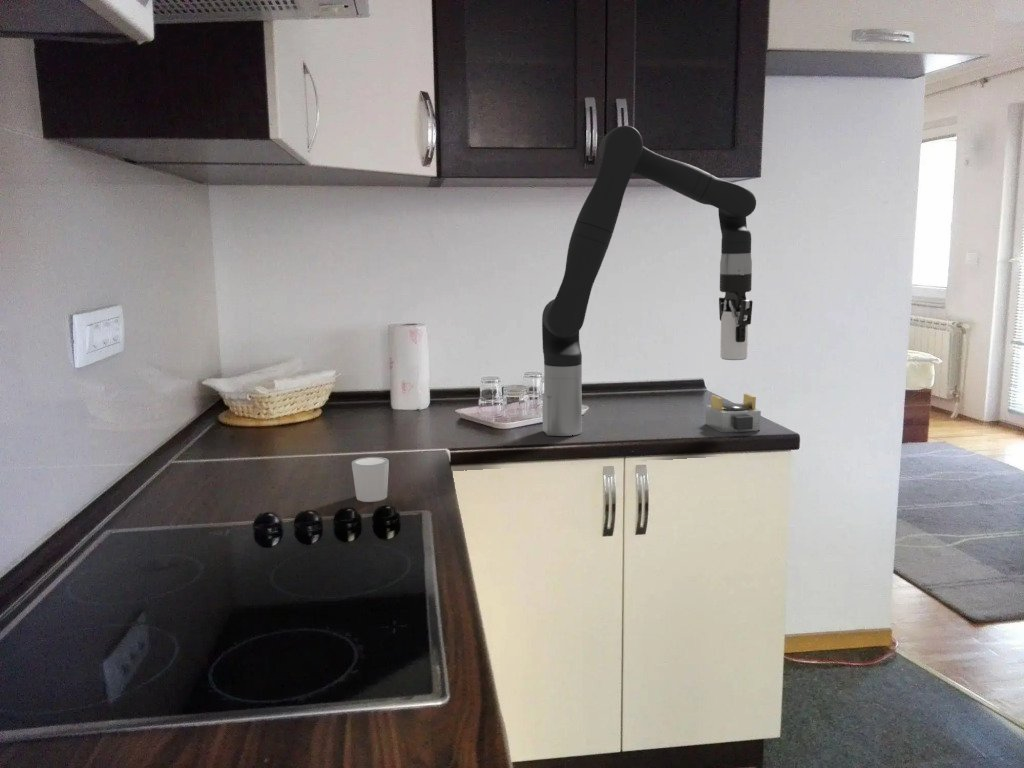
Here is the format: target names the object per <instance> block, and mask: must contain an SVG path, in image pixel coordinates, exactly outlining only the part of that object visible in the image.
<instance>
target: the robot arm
mask: <svg viewBox="0 0 1024 768" xmlns="http://www.w3.org/2000/svg"><path fill="white" fill-rule="evenodd" d="M598 147H599V149H598V151H599V152H598V153H599V156H600V159H601V162H600V166H599V170H598V173H597V176H596V179H595V181H594V184H593V186H592V187H591V190H590V192H589V193H588V195H587V197H586V199H585V201H584V203H583V204H582V207H581V209H580V211H579V214H578V216H577V218H576V221H575V224H574V226H573V230H572V233H571V236H570V238H569V239H570V240H569V243H568V247H567V253H566V262H565V269H564V270H565V271H564V274H563V278H562V281H561V284H560V286H559V288H558V291H557V293H556V295H555V298H554V299H552V300H550V301H549V302H548V303H546V305H545V306H544V307H543V311H542V315H541V316H542V317H541V327H542V328H541V331H542V333H541V336H542V338H541V340H542V353H543V364H544V365H543V369H544V371H543V373H544V374H543V375H544V376H543V377H544V380H543V382H544V387H543V389H544V392H543V393H542V394H541V395H542V403H541V404H542V406H541V407H542V408H541V409H542V431H543V432H544V434H545V435H546V436H553V437H554V436H555V437H570V436H572V435H573V436H578V435H580V434H582V431H583V428H582V425H583V423H582V416H583V415H582V412H583V410H582V406H583V405H582V401H583V399H582V393H583V392H582V388H583V387H582V386H583V384H582V383H583V380H582V379H583V378H582V376H583V375H582V373H583V372H582V370H583V369H582V367H583V365H582V364H583V363H582V362H583V361H582V358H583V357H582V351H581V350H582V349H581V346H580V345H581V344H580V331H581V329H582V327H583V325H584V322H585V319H586V315H587V314H586V313H587V309H588V305H589V301H590V298H591V297H590V296H591V292H592V289H593V286H594V283H595V280H596V278H597V276H598V273H599V271H600V268H601V266H602V264H603V261H604V260H605V259H604V258H605V257H606V253H607V251H608V248H609V245H610V243H611V239H612V237H613V233H614V231H615V228H616V225H617V224H616V223H617V221H618V217H619V214H620V210H621V207H622V202H623V200H624V195H625V192H626V189H627V187H628V184H629V182H630V179H631V177H632V176H633V174H634V175H637V176H640V177H643V178H645V179H648V180H650V181H652V182H655V183H658V184H659V185H661V186H664V187H665V188H668V189H670V190H672V191H674V192H676V193H678V194H680V195H682V196H684V197H687V198H689V199H691V200H693V201H695V202H697V203H699V204H703V205H708V206H712V207H714V208H717V209H718V220H719V227H720V231H721V247H720V248H721V252H720V253H721V254H720V261H719V291H720V292H721V293H724V296H720V297H718V311H719V312H718V313H719V320H720V322H721V316H722V314H723V310H725V311H727V310H728V311H732V316H733V318H735V322H736V326H737V327H736V342H744V341H745V329H746V326H747V325H748V326H749V325H751V323H752V314H753V313H752V312H753V303H754V302H753V300H752V299H747V297H746V293H749V292H751V291H752V280H753V279H752V274H753V273H752V272H753V269H752V268H753V260H752V233H751V231H750V230H749V229H748V227H747V226H748V224H747V217H749V216H751V214H752V213H753V212H754V211H755V210H756V207H757V199H756V196H755V194H754V193H753V192H752V191H751V190H750V189H748V188H746V187H744V186H741V185H739V184H736V183H734V182H730V181H728V180H724V179H721V178H719V177H716V176H715V175H713V174H711V173H709V172H708V171H706V170H703V169H701V168H699V167H697V166H694V165H692V164H688V163H686V162H682V161H680V160H677V159H676V160H675V159H672V158H669V157H666V156H663V155H661V154H659V153H656V152H654V151H652V150H651V149H648V148H647V147H645V146H644V142H643V137H642V135H641V133H640V132H639V131H638V130H637V129H636V128H635V127H633V126H631V125H620V126H617V127H615V128H613V129H612V130H610V131H609V132H608V133H607V134H606V135H604V136H603V138H602V139H601V141H600V144H599V146H598ZM738 311H740V314H737V313H736V312H738ZM746 316H747V319H746ZM739 317H740V319H739Z"/></svg>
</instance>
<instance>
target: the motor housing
mask: <svg viewBox="0 0 1024 768" xmlns="http://www.w3.org/2000/svg"><path fill="white" fill-rule="evenodd" d="M756 398H757V397H756V396H754V395H752V394H748V393H743V403H737V402H736V403H734V402H726V403H725V402H724V403H723V401H724V400H723V397H720V396H717V395H715V394H710V404H706V405H705V425H706V426H709V427H710V428H712V429H714V430H716V431H718V432H720V433H741V432H758V430H760V431H761V413H762V411H761V410H760V409H757V408H756V400H757V399H756Z"/></svg>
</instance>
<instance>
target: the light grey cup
mask: <svg viewBox="0 0 1024 768" xmlns="http://www.w3.org/2000/svg"><path fill="white" fill-rule="evenodd" d="M389 463H390V460H389V459H388V458H386V457H381V456H368V457H360V458H357V459H354V460H352V461H351V470H352V476H353V482H354V483H353V484H354V490H355V497H356V499H357V501H360V502H365V503H372V502H373V503H374V502H381V501H383V500H385V499H387V497H388V483H389V467H390V465H389Z"/></svg>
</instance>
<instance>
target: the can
mask: <svg viewBox="0 0 1024 768" xmlns="http://www.w3.org/2000/svg"><path fill="white" fill-rule="evenodd" d="M736 313H737V314H740V311H738V312H736ZM739 319H740V317H739ZM746 319H747V316H746ZM736 327H737V326H736V322H735V318H733V316H732V311H728V310H727V311H725V310H723V314H722V316H721V321H720V358H721V359H722V360H726V361H742V360H747V358H748V345H749V339H748V338H749V325H747V326H746V329H745V341H744V342H736Z"/></svg>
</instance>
